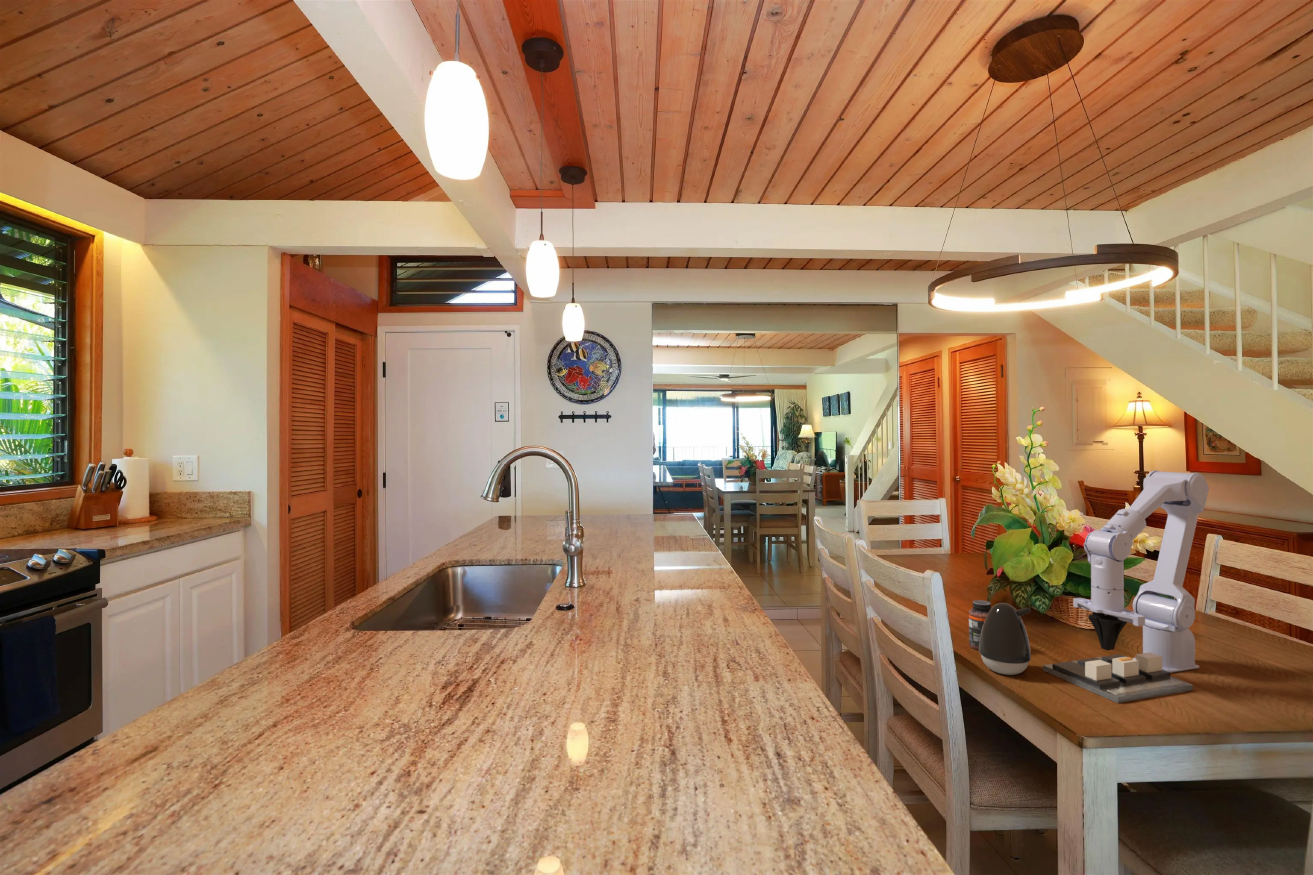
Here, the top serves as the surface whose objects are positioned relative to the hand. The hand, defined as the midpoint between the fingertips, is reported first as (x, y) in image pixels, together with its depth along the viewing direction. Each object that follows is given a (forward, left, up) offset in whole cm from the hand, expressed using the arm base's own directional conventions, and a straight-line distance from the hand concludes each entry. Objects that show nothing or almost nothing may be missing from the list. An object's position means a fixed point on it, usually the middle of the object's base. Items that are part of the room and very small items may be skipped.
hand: (1107, 648), depth 134 cm
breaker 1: (+7, +4, -4) cm, 9 cm away
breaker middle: (0, +4, -4) cm, 6 cm away
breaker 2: (-7, +4, -4) cm, 9 cm away
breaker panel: (0, +2, -6) cm, 6 cm away
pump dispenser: (+18, -9, -6) cm, 21 cm away
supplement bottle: (+12, -22, -6) cm, 26 cm away
